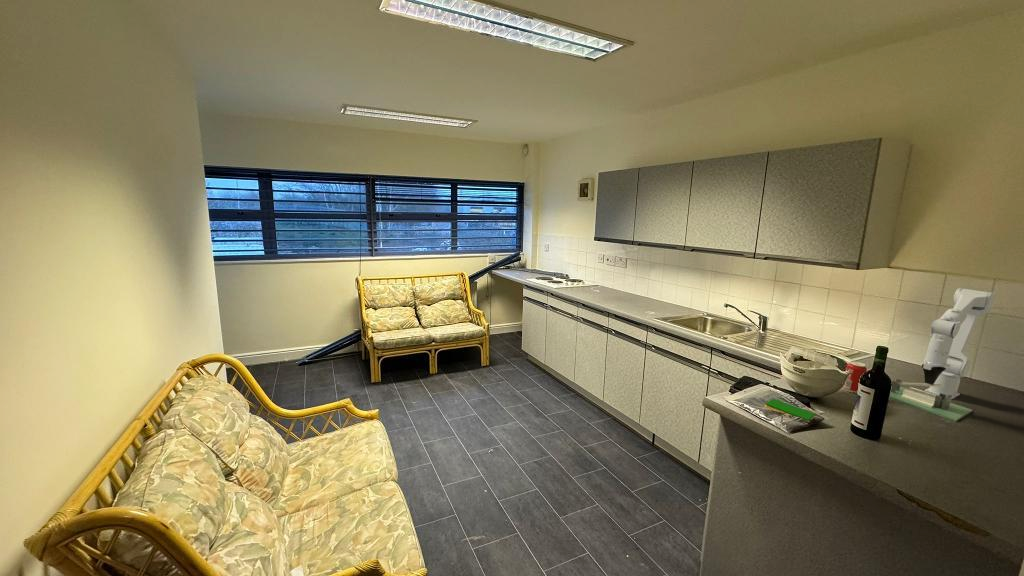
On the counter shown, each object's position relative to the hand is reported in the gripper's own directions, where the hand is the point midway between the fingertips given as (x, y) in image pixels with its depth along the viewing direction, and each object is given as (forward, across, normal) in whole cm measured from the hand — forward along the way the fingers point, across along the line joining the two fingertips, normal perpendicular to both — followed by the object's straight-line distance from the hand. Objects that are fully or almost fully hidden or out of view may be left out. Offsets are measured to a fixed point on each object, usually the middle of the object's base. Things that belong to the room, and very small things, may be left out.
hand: (929, 383), depth 155 cm
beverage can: (+9, -14, +18) cm, 24 cm away
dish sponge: (+10, -58, +19) cm, 62 cm away
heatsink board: (+8, 0, +1) cm, 8 cm away
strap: (+2, 0, +3) cm, 3 cm away
